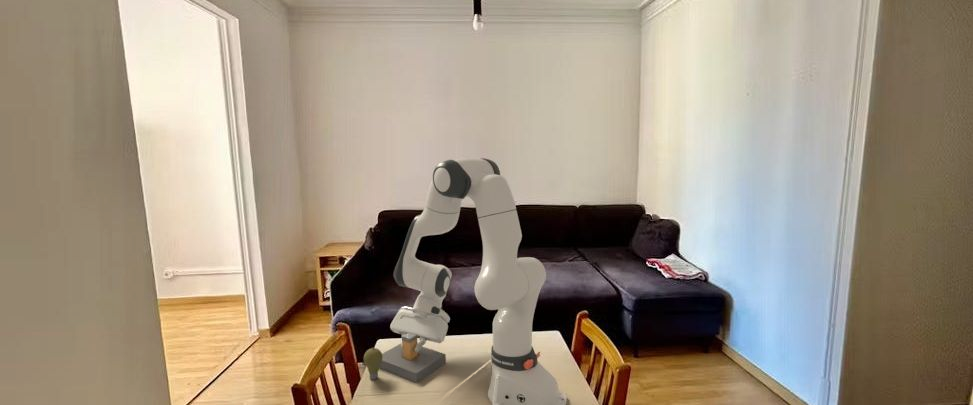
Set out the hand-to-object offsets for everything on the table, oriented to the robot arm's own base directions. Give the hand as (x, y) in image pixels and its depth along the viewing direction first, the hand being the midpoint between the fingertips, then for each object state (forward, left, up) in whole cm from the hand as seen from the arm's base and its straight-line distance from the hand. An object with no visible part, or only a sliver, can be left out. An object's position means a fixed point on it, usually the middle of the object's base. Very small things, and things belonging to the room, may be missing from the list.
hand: (408, 349), depth 137 cm
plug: (0, -1, -5) cm, 5 cm away
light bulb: (+4, +11, -6) cm, 14 cm away
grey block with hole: (0, -1, -6) cm, 6 cm away
